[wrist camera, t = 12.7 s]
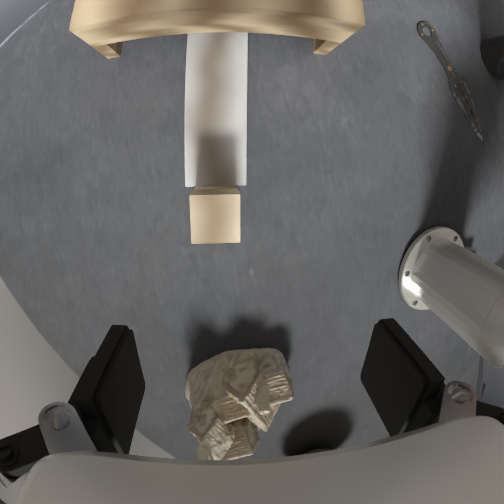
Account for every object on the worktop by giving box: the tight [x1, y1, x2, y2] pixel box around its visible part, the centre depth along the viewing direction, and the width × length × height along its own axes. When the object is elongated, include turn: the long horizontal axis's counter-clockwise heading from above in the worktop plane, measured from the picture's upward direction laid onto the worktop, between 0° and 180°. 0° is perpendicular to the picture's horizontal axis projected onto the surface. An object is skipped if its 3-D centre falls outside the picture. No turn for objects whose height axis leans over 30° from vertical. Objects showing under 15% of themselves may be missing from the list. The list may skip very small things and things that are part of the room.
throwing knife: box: [417, 22, 483, 142], centre depth 29 cm, size 4×20×1 cm, turn 38°
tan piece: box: [185, 32, 248, 244], centre depth 24 cm, size 6×24×8 cm, turn 179°
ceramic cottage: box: [185, 347, 294, 460], centre depth 34 cm, size 16×16×15 cm
